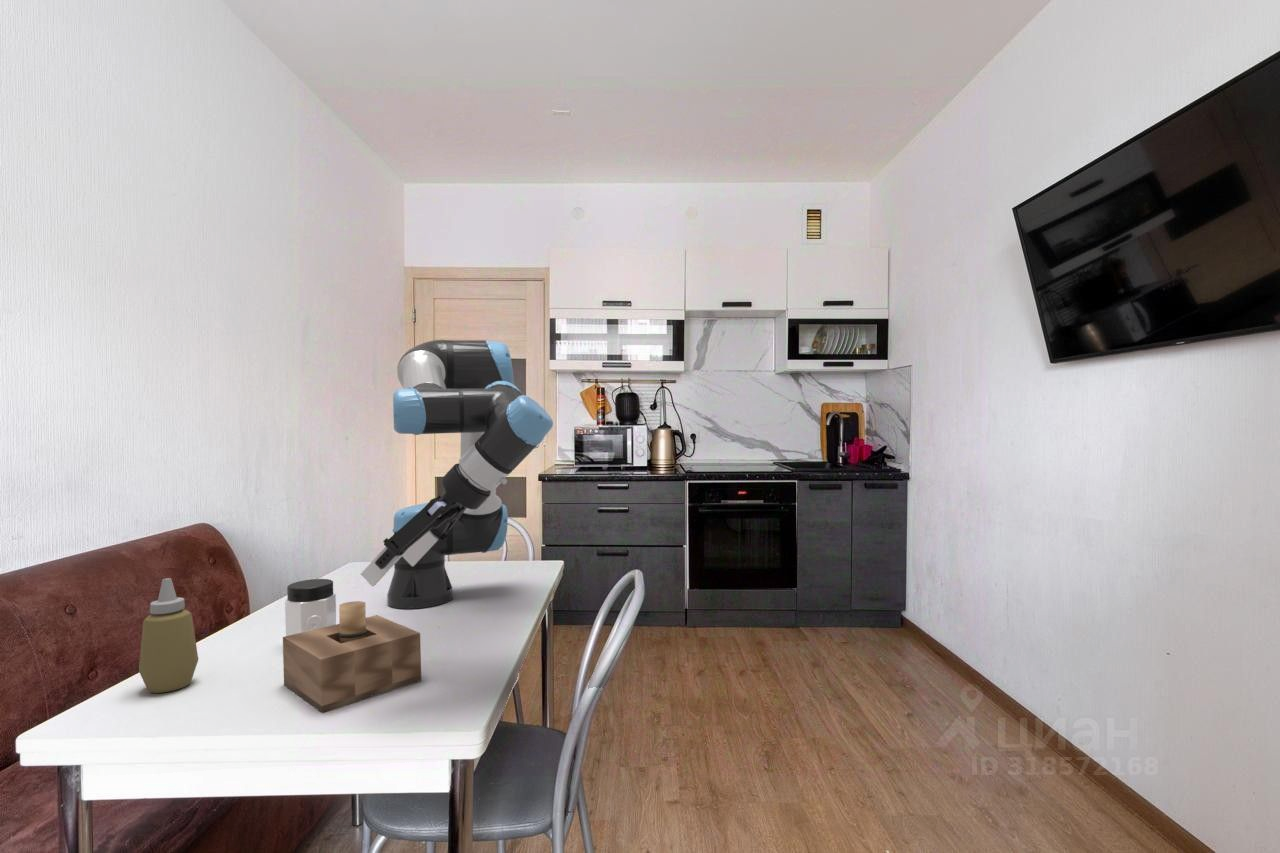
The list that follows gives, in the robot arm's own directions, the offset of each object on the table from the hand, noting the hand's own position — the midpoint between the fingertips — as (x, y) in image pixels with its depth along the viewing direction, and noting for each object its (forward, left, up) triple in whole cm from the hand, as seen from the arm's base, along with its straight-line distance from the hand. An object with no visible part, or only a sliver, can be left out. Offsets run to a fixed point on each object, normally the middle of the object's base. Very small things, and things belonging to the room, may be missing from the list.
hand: (388, 569), depth 108 cm
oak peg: (+4, -6, -18) cm, 19 cm away
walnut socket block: (+4, -6, -19) cm, 20 cm away
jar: (+1, -32, -19) cm, 37 cm away
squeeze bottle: (+25, -28, -19) cm, 42 cm away
